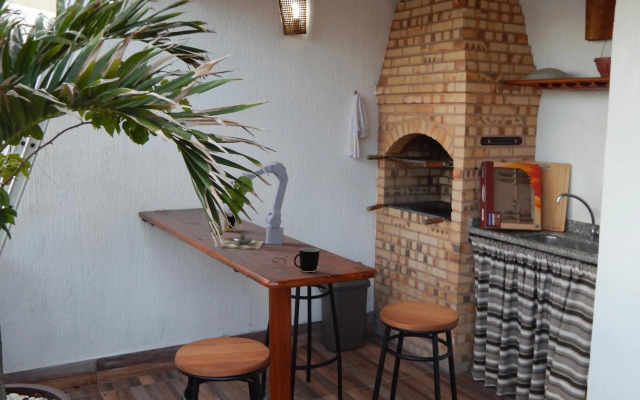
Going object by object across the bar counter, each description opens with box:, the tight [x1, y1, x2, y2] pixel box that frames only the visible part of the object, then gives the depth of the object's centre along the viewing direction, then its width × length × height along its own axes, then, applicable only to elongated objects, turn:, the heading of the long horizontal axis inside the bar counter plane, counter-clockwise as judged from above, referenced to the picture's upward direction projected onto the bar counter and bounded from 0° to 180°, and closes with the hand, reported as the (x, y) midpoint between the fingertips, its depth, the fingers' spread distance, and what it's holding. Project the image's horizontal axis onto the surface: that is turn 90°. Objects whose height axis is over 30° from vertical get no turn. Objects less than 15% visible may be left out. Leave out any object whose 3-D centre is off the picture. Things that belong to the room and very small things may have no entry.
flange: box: [224, 236, 253, 243], centre depth 362 cm, size 14×10×1 cm
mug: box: [293, 247, 320, 271], centre depth 308 cm, size 12×9×10 cm
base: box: [219, 232, 264, 251], centre depth 362 cm, size 20×20×6 cm
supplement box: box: [218, 208, 235, 233], centre depth 402 cm, size 8×5×13 cm, turn 143°
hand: (231, 228), depth 364 cm, fingers closed
